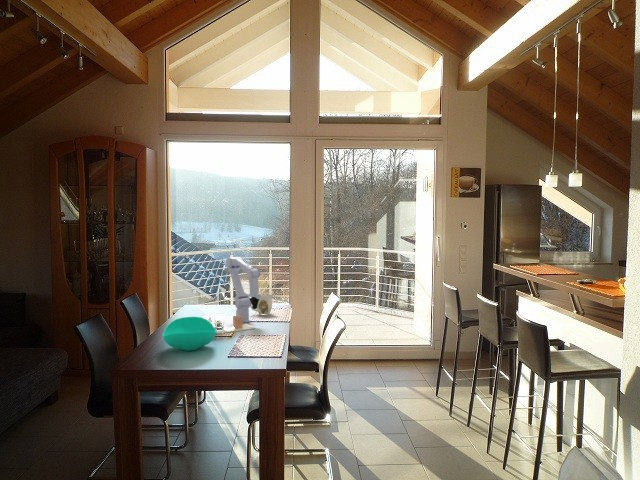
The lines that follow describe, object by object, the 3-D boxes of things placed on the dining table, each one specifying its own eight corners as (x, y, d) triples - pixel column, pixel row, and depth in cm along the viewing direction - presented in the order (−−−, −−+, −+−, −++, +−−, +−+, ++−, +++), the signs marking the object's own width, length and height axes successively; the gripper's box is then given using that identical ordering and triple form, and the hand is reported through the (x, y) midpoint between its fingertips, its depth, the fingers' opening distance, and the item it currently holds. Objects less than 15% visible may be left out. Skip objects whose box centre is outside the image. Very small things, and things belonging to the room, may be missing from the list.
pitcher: (251, 313, 354) (250, 294, 353) (276, 312, 355) (275, 293, 354) (249, 316, 343) (248, 296, 342) (275, 315, 344) (274, 296, 343)
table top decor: (219, 357, 248) (218, 330, 247) (161, 362, 240) (160, 335, 239) (214, 337, 286) (213, 315, 285) (164, 341, 278) (163, 318, 277)
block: (233, 327, 308) (232, 316, 308) (240, 326, 310) (239, 315, 310) (235, 328, 304) (235, 317, 304) (242, 327, 307) (242, 316, 306)
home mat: (219, 328, 309) (219, 327, 309) (246, 324, 318) (246, 323, 318) (227, 332, 297) (227, 331, 297) (255, 328, 306) (255, 327, 306)
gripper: (264, 288, 311) (265, 309, 311) (255, 286, 323) (256, 306, 324) (254, 289, 307) (254, 311, 308) (245, 287, 320) (245, 307, 320)
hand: (254, 309), depth 316 cm, fingers closed
